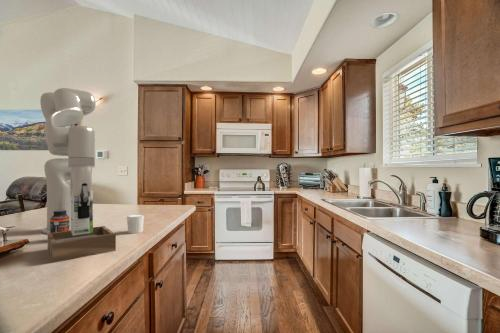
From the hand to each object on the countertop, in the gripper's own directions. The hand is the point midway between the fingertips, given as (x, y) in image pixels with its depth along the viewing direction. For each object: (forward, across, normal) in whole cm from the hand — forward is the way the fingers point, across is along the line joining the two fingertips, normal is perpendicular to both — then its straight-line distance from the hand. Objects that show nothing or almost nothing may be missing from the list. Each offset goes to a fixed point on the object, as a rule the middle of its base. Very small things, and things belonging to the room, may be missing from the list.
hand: (81, 216), depth 88 cm
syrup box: (+6, 0, 0) cm, 6 cm away
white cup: (+11, -14, +22) cm, 29 cm away
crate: (+11, 0, 0) cm, 11 cm away
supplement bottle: (+11, -20, -4) cm, 24 cm away
